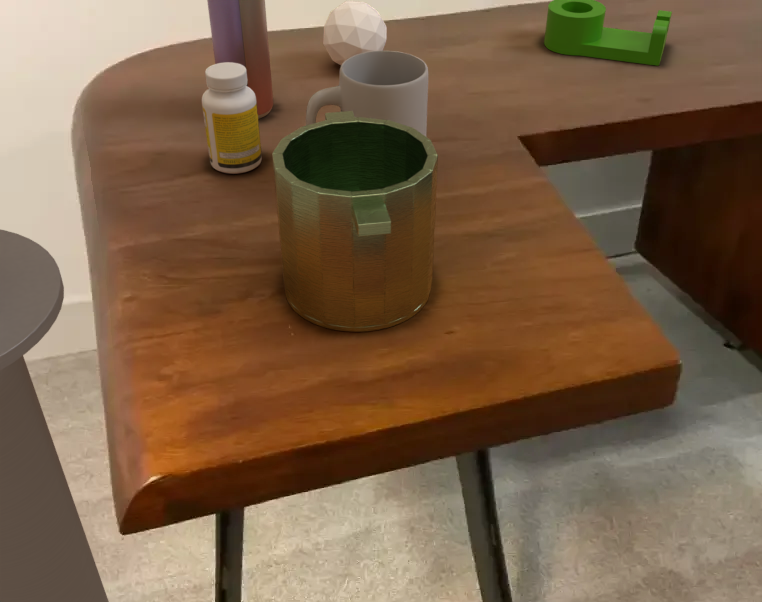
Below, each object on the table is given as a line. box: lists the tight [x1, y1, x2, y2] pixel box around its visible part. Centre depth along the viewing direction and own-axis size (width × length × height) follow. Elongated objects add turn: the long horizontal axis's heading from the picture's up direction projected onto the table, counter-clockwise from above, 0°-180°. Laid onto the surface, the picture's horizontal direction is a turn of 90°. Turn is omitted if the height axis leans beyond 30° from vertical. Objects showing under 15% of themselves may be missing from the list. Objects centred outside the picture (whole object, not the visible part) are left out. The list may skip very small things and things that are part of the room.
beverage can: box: [206, 0, 274, 120], centre depth 99 cm, size 6×6×15 cm
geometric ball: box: [322, 0, 388, 66], centre depth 111 cm, size 8×8×8 cm
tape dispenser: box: [543, 0, 673, 67], centre depth 116 cm, size 15×7×5 cm, turn 71°
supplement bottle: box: [201, 62, 263, 175], centre depth 92 cm, size 5×5×10 cm
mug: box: [305, 50, 429, 137], centre depth 90 cm, size 12×8×11 cm
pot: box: [271, 111, 439, 333], centre depth 75 cm, size 13×18×12 cm
